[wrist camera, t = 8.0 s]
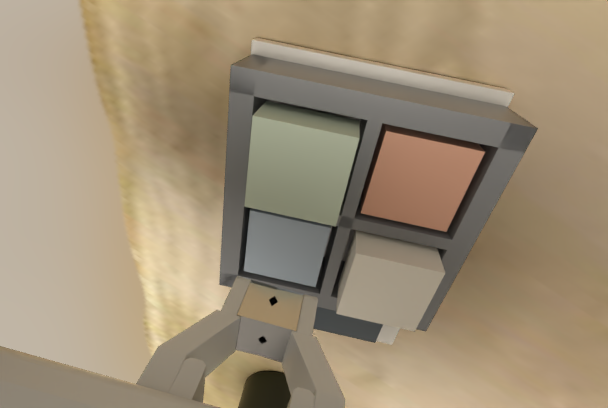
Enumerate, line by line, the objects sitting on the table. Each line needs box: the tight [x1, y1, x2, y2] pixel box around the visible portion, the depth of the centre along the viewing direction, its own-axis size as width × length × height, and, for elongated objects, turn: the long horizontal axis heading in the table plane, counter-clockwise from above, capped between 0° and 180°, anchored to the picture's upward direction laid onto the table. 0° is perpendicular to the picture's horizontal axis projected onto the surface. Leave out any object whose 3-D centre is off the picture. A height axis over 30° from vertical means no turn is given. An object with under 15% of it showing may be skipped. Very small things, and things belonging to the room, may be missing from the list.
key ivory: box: [336, 230, 445, 332], centre depth 17 cm, size 4×4×2 cm
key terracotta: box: [361, 123, 485, 232], centre depth 16 cm, size 4×4×2 cm
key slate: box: [244, 208, 331, 287], centre depth 18 cm, size 4×4×2 cm
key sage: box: [244, 101, 360, 227], centre depth 14 cm, size 4×4×2 cm
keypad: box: [219, 38, 538, 345], centre depth 19 cm, size 18×12×4 cm, turn 170°
